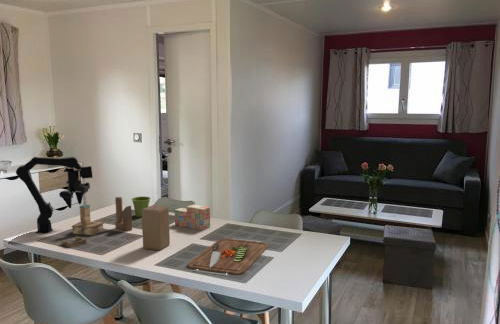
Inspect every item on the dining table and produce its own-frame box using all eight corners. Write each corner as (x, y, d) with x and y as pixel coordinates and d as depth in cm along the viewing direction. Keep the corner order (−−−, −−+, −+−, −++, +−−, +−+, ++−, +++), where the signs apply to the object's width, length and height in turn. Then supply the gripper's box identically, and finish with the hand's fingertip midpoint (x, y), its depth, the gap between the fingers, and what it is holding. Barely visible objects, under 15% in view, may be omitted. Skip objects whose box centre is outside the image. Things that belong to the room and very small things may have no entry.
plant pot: (128, 217, 262) (128, 200, 260) (137, 213, 274) (136, 196, 272) (146, 218, 260) (146, 200, 258) (154, 213, 272) (153, 196, 270)
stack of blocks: (174, 225, 245) (174, 204, 244) (181, 222, 251) (181, 202, 249) (204, 230, 235) (203, 209, 233) (210, 227, 240) (210, 206, 238)
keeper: (61, 244, 212) (61, 240, 212) (77, 240, 219) (77, 236, 219) (70, 247, 207) (70, 243, 207) (86, 243, 214) (86, 239, 214)
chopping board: (240, 278, 170) (240, 271, 169) (181, 270, 179) (181, 263, 178) (271, 244, 212) (271, 238, 212) (222, 239, 221) (222, 233, 220)
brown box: (71, 234, 229) (70, 226, 228) (82, 228, 239) (81, 221, 238) (93, 235, 226) (93, 227, 226) (104, 230, 236) (103, 222, 236)
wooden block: (170, 244, 211) (169, 206, 208) (160, 251, 201) (158, 210, 199) (153, 242, 214) (151, 204, 211) (142, 249, 205) (140, 209, 202)
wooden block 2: (127, 231, 233) (125, 200, 231) (115, 228, 240) (113, 197, 237) (132, 229, 236) (131, 198, 234) (120, 226, 243) (119, 196, 240)
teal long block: (80, 225, 230) (79, 206, 228) (85, 223, 233) (84, 204, 231) (86, 226, 228) (84, 206, 227) (90, 224, 232) (89, 205, 230)
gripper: (76, 182, 226) (78, 210, 228) (95, 176, 244) (96, 202, 246) (57, 181, 228) (59, 209, 230) (78, 176, 246) (79, 202, 248)
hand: (75, 206), depth 239 cm, fingers open, 9 cm apart
